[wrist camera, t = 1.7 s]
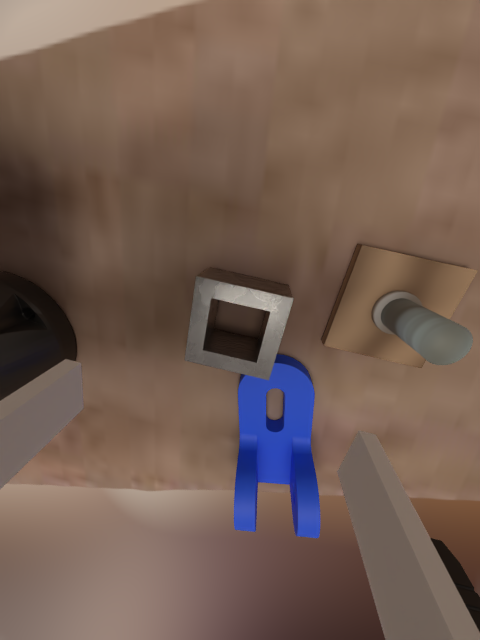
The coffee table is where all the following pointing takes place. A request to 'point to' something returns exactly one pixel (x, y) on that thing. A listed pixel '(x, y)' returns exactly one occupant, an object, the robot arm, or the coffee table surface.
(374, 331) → the peg stand
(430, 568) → the robot arm
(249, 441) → the bracket
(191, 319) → the gray square frame
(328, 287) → the coffee table surface
